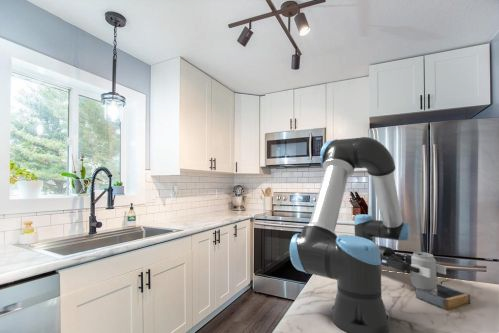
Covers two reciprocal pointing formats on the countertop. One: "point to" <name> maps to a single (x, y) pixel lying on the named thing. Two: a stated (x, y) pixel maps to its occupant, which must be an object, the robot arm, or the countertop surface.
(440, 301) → the open rectangular tray
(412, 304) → the countertop surface
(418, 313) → the countertop surface
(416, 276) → the can
